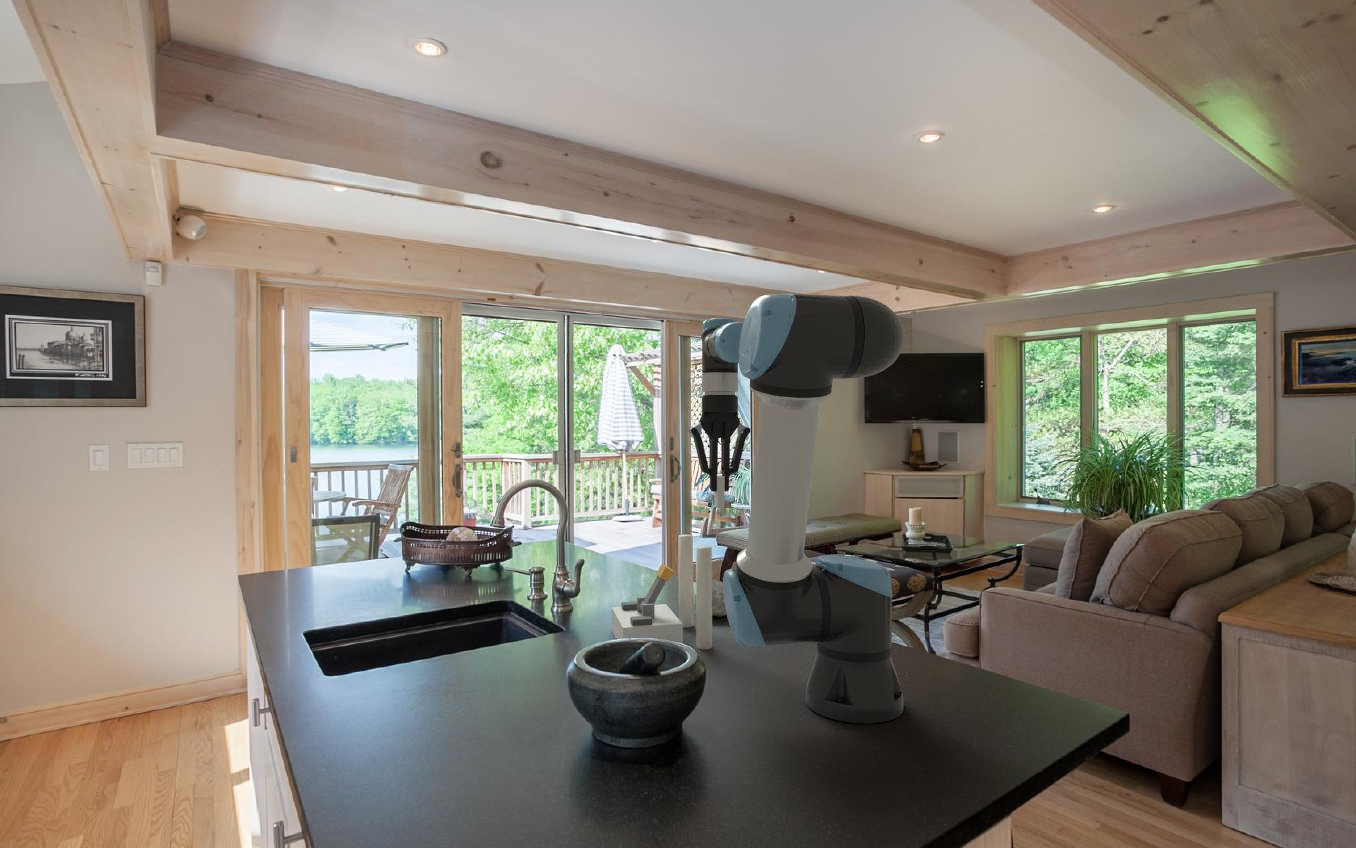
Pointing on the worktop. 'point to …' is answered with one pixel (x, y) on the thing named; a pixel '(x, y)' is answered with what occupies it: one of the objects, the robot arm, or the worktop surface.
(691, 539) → the post far
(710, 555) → the post near
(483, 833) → the worktop surface
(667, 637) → the panel
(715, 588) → the seashell
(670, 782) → the worktop surface
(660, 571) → the breaker lever
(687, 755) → the worktop surface
